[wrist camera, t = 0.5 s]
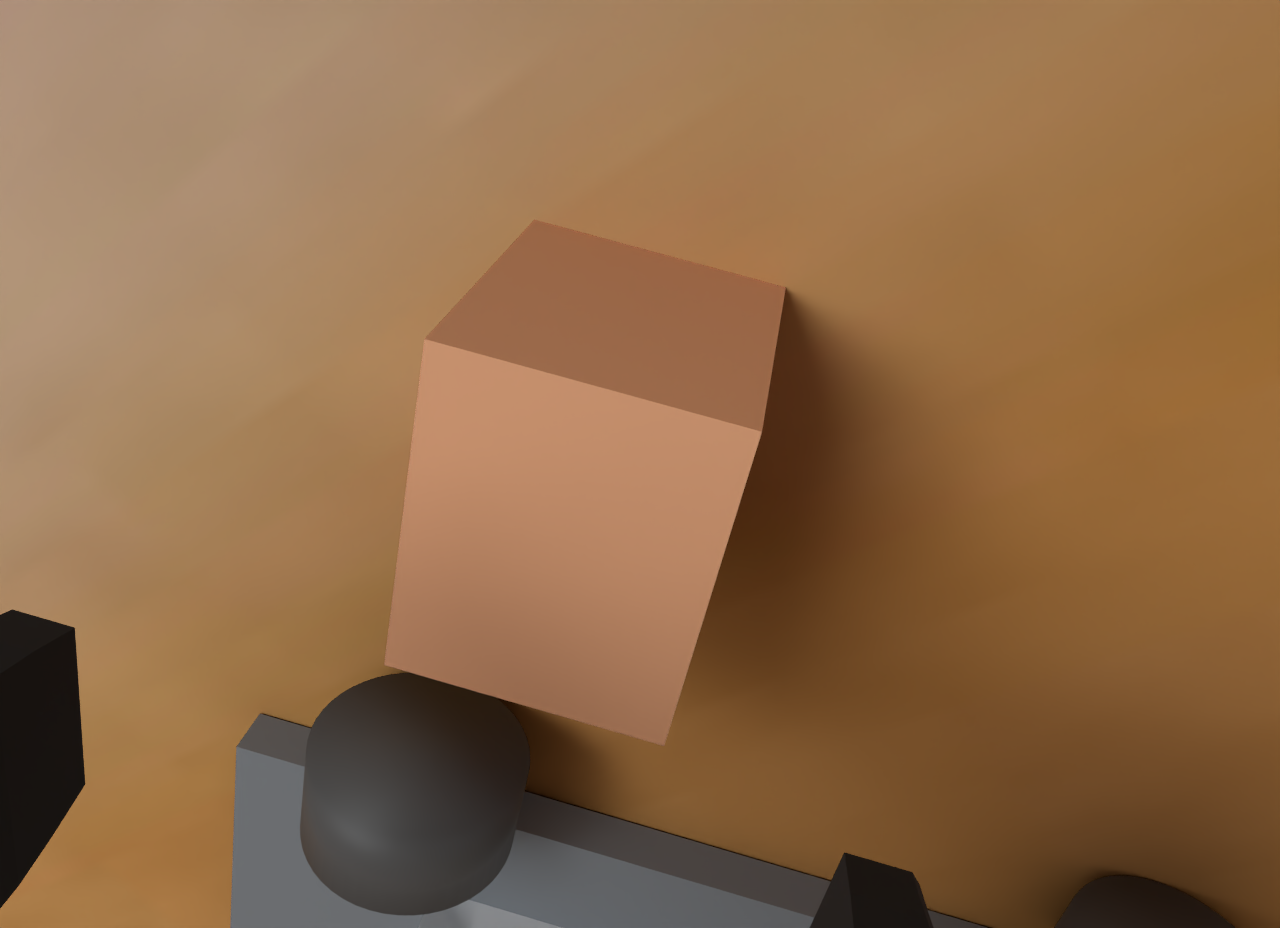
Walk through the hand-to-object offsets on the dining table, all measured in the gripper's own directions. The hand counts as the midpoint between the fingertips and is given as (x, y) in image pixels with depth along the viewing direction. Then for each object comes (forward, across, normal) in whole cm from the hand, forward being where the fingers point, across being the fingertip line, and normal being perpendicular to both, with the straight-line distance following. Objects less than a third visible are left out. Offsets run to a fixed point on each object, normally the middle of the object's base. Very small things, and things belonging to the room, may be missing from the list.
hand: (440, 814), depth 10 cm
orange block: (+9, 0, 0) cm, 9 cm away
